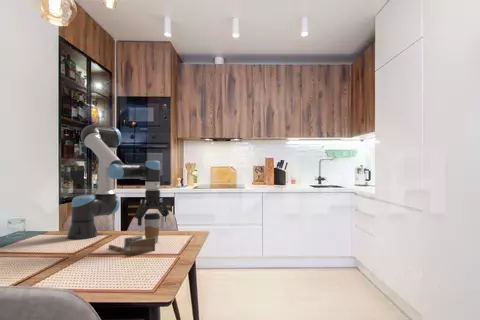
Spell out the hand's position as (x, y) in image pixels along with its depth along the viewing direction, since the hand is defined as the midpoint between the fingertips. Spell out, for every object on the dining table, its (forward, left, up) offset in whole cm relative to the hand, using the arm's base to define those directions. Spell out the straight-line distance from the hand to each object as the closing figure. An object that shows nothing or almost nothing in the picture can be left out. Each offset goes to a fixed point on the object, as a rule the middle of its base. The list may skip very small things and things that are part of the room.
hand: (152, 230), depth 170 cm
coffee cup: (0, 0, -7) cm, 7 cm away
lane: (+5, -15, -7) cm, 17 cm away
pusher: (+8, -15, -6) cm, 18 cm away
